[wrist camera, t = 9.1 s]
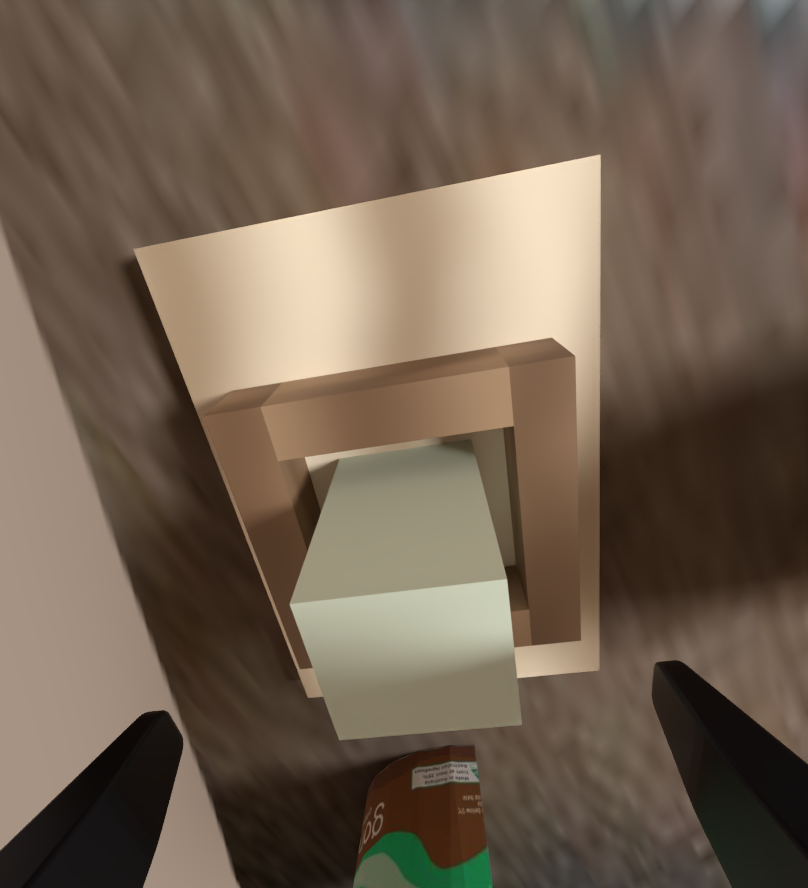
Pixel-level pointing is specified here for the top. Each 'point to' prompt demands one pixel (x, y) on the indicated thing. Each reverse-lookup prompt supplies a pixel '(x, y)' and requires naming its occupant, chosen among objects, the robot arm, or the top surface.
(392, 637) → the pale green block
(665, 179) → the top surface
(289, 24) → the top surface
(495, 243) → the post base
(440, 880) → the food container
